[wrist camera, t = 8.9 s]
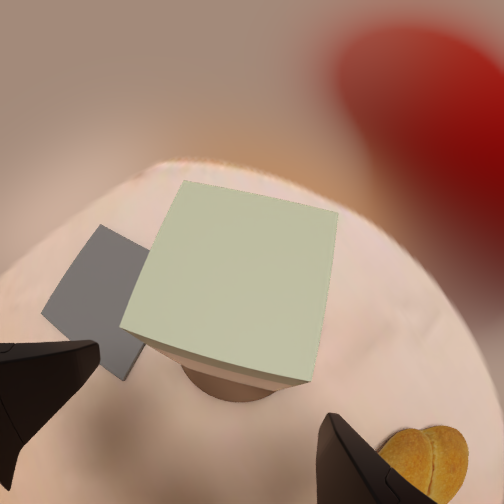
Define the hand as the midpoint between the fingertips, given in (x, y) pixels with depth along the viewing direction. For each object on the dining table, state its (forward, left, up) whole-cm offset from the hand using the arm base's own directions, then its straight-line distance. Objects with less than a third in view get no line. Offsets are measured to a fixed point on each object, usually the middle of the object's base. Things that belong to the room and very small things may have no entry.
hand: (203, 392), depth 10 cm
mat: (+2, +12, -10) cm, 16 cm away
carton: (+4, +1, -10) cm, 11 cm away
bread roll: (-1, -17, -11) cm, 20 cm away
